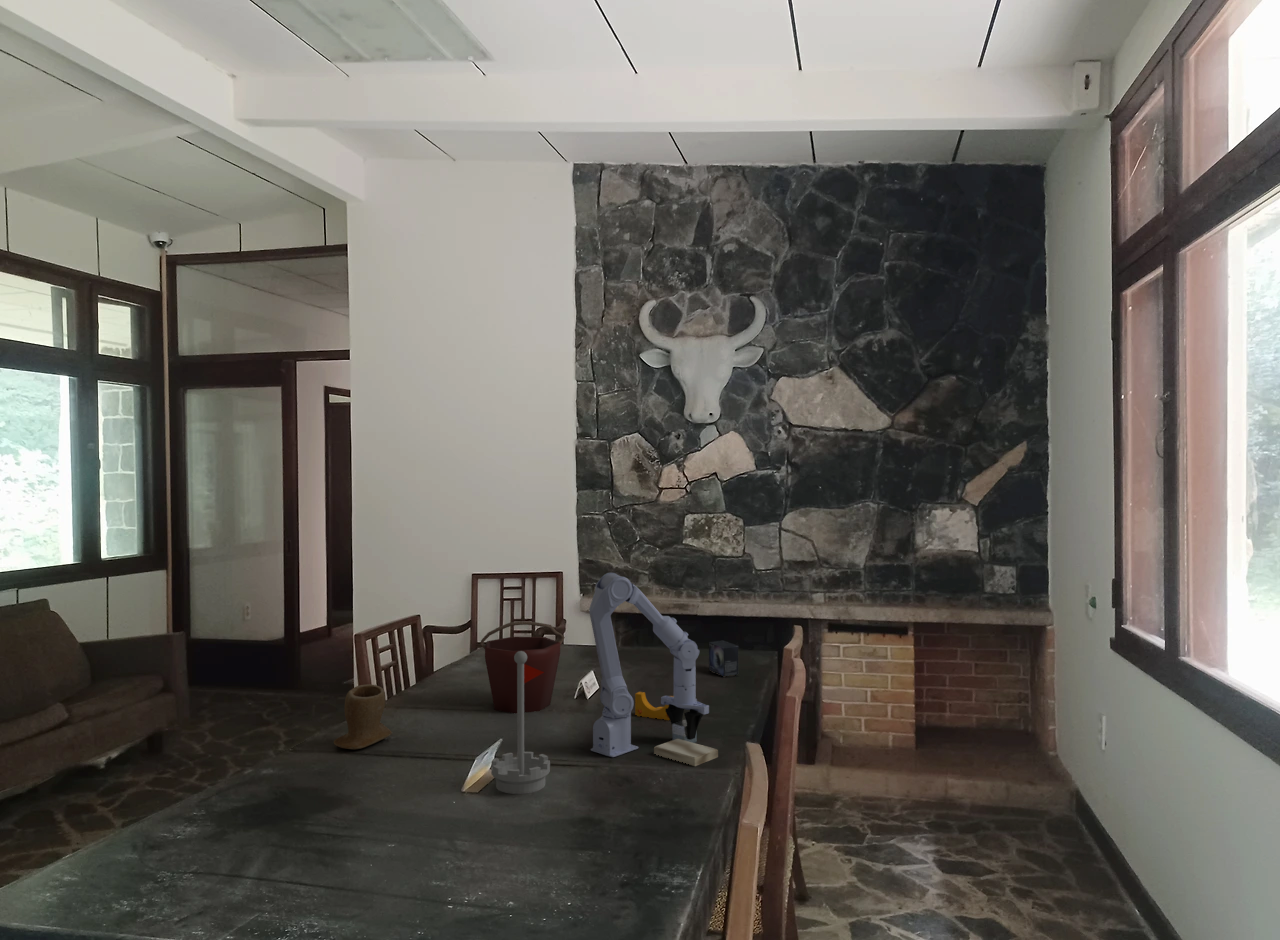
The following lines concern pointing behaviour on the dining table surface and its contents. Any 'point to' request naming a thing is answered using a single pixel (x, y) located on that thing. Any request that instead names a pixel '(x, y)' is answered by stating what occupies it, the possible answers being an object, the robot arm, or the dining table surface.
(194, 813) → the dining table surface
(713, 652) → the small box
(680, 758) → the cream flat block
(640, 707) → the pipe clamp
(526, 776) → the flag stand
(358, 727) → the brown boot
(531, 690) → the bucket
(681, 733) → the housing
